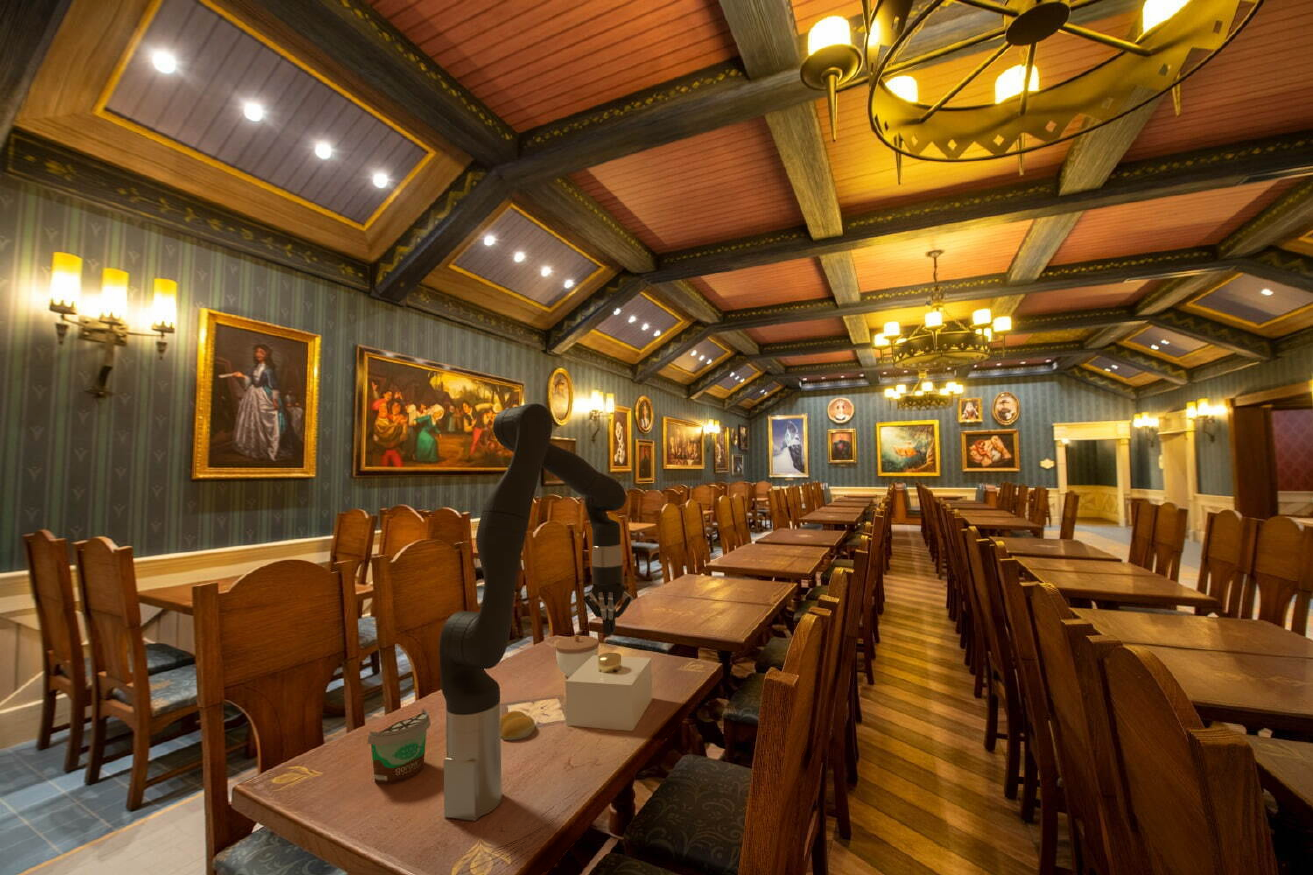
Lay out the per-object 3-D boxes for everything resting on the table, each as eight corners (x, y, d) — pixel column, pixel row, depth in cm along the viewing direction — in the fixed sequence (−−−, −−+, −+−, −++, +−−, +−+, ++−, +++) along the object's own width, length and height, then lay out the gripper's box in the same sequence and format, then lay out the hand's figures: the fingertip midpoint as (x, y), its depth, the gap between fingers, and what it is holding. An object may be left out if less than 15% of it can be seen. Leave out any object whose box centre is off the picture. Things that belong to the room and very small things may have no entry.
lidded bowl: (596, 681, 151) (595, 641, 152) (551, 682, 151) (551, 642, 152) (601, 665, 164) (600, 628, 164) (560, 666, 164) (559, 629, 164)
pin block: (632, 730, 121) (631, 685, 122) (566, 725, 125) (565, 680, 126) (652, 697, 138) (651, 658, 139) (594, 693, 142) (593, 655, 143)
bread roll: (508, 745, 117) (508, 726, 117) (490, 732, 123) (490, 714, 124) (542, 732, 122) (542, 714, 123) (523, 720, 129) (523, 703, 129)
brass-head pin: (618, 712, 128) (616, 660, 129) (596, 710, 130) (594, 659, 131) (625, 702, 134) (623, 653, 135) (604, 701, 135) (602, 652, 136)
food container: (386, 795, 99) (385, 739, 100) (367, 786, 103) (367, 732, 103) (443, 763, 110) (443, 713, 111) (425, 756, 113) (424, 707, 114)
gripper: (576, 565, 132) (578, 637, 131) (628, 565, 129) (630, 639, 128) (587, 560, 139) (589, 628, 138) (637, 560, 136) (639, 630, 135)
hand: (609, 634), depth 133 cm, fingers closed
